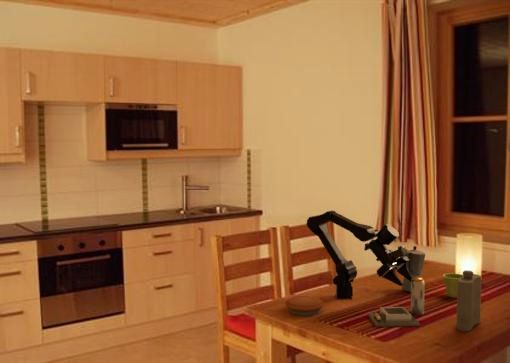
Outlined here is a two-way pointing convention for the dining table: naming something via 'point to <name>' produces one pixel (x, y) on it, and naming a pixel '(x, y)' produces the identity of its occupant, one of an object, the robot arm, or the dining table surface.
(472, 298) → the flask
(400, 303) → the dining table surface
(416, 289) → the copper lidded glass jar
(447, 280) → the plant pot
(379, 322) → the dock
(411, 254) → the moka pot
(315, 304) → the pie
